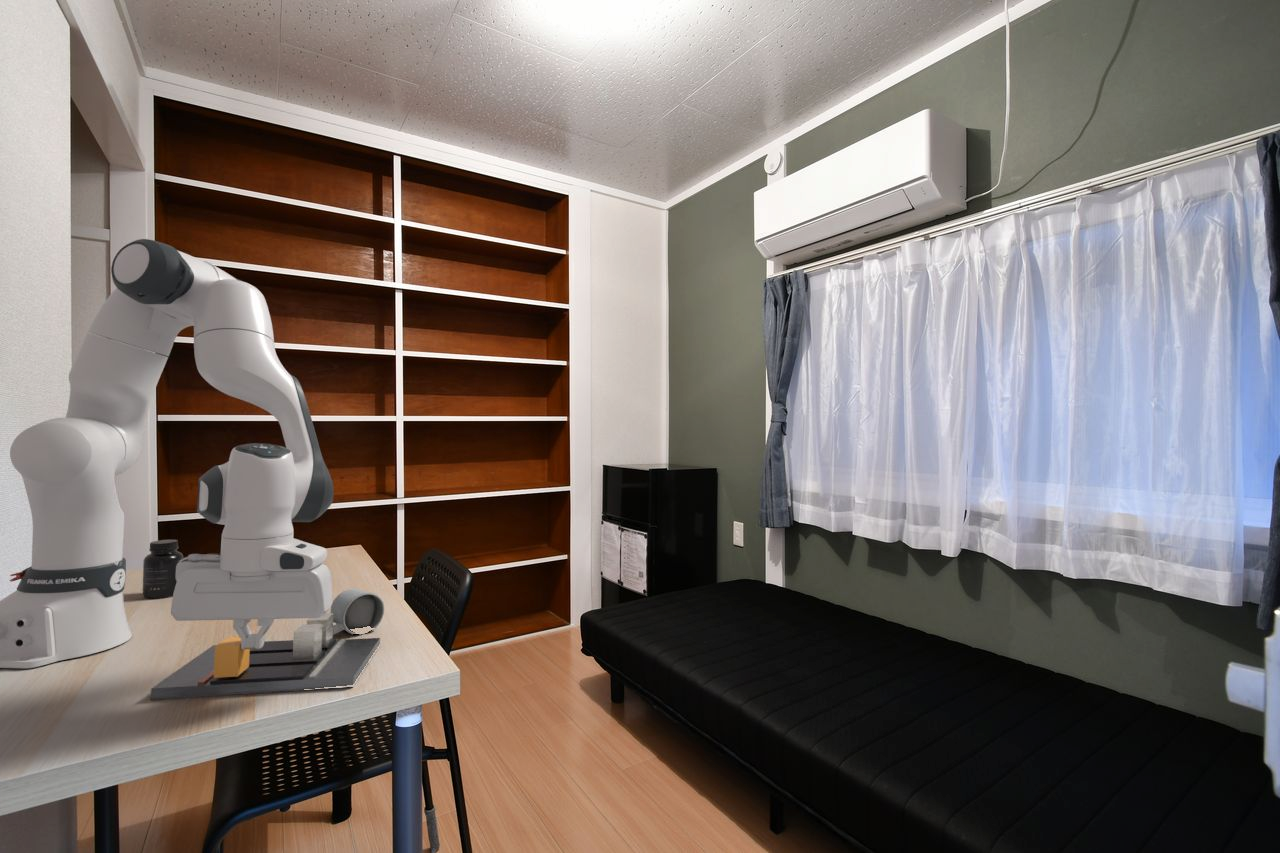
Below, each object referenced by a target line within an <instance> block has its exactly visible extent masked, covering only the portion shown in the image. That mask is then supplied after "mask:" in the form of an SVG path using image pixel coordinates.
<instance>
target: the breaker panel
mask: <svg viewBox="0 0 1280 853" xmlns="http://www.w3.org/2000/svg"><path fill="white" fill-rule="evenodd" d="M333 616H334V613H331V612H330V613H329V612H328V613H327V612H326V613H325V614H324V615H322V616H321V617H319V618H307V620H306V624H301V625H300V626H299V627H298V628H297V629H296V630H295V631H294V632H293V637H292V638H293V639H292V640H291V639H290V640H271V641H269V640H267V641H265V640H264V645H263V647H262V648H260V649H250V654H249V667H248V668H247V669H246V670H244V671H243V672H242V673H241V674H240V675H239V676H237V677H219V678H214V661H215V646H216V645H217V644H215V645H214V644H213V645H211V646H210V647H209V648H207V649H206V650H204V651H203V652H201V653H200V654H199V655H197V656H196V657H194V658H193V659H191V660H190V661H189V662H187V663H186V664H184V665H182V666H181V667H180V668H179V669H177V670H176V671H174V672H173V673H171V674H170V675H169V676H167V677H165V678H164V679H162V680H161V681H160V682H159V683H157V684H155V685H154V686H153V687H151V689H150V700H151V701H154V700H155V701H157V700H170V699H171V700H174V699H176V700H177V699H188V698H189V699H191V698H207V697H220V696H221V697H223V696H239V695H255V694H272V692H274V693H281V692H280V691H290V692H295V691H294V690H304V689H315V688H324V687H336V686H347V685H353V684H354V683H355V681H356V679H357V678H358V676H359V675H360V673H361V672H362V670H363V669H364V667H365V666H366V664H367V663H368V661H369V659H370V658H371V656H372V655H373V653H374V652H375V650H376V649H377V647H378V646H379V644H380V645H381V637H372V638H371V637H370V638H352V639H351V638H349V639H348V638H340V639H337V638H336V637H335V638H334V635H333V626H334V623H333Z"/></svg>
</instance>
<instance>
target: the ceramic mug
mask: <svg viewBox="0 0 1280 853" xmlns="http://www.w3.org/2000/svg"><path fill="white" fill-rule="evenodd" d="M330 613H334V616H333V636H335V635H337V634H339V633H341V632H342V631H346V633H348V634H351V635H353V634H356V633H355V632H353V631H351V630H350V629H355V628H363V627H367V626H370V627H371V628H375V629H376V628H377V627H379V625H380V624H381V622H382V620H383V618H384V615H385V604H384V602H383V600H382V598H381V597H380V596H379V595H378V594H376V593H373V592H371V591H368V590H367V591H366V590H363V589H360V588H350V589H347V590H344V591H342V592H341V593H339V594H338V595H337V596H336V597H335V598H334V600H332V605H331V607H330ZM334 623H335V624H334Z"/></svg>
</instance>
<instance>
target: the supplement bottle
mask: <svg viewBox="0 0 1280 853" xmlns="http://www.w3.org/2000/svg"><path fill="white" fill-rule="evenodd" d="M178 549H179V540H178V539H161V540H159V539H158V540H155V541H151V542H150V543H149V552H150V553H149V554H147V555H146V556H145V557H144V558H143V564H142V568H143V569H142V597H143V598H144V599H147V600H148V599H149V600H159V599H166V598H171V597H172V598H173V594H174V590H175V586H176V583H177V581H176V577H175V576H176V566H177V564H178V562H179V561H180V560H182V559H183V558H184V555H183V553H182V552H180V551H178Z"/></svg>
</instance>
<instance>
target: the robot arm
mask: <svg viewBox="0 0 1280 853" xmlns="http://www.w3.org/2000/svg"><path fill="white" fill-rule="evenodd" d="M110 272H111V279H112V282H113V284H114V286H115V289H114V290H113V291H112V293H110V295H109V296H108V297H107V298H106V300H105V301H104V302H103V304H102V305H101V307H100V308H99V310H98V312H97V314H96V315H95V317H94V319H93V320H92V323H91V324H90V326H89V328H88V330H87V332H86V335H85V337H84V339H83V342H82V343H81V346H80V348H79V351H78V353H77V355H76V357H75V359H74V362H73V364H72V367H71V369H70V371H69V373H68V382H69V386H70V391H69V397H68V398H69V400H68V406H67V411H66V414H65V417H57V418H51V419H48V420H44V421H42V422H39V423H36V424H35V425H32V426H29V427H27V428H26V429H24V430H22V431H21V432H19V434H17V436H16V437H15V438H14V439H13V441H12V443H11V445H10V449H9V457H10V461H11V464H12V466H13V467H14V469H15V470H16V471H17V472H18V473H19V474H20V475H21V477H22V481H23V484H24V488H25V492H26V495H27V496H26V497H27V499H28V504H29V509H30V512H31V520H32V541H31V542H32V544H31V566H29V567H26V568H25V569H23V570H22V571H19V572H16V573H12V574H10V575H9V576H10V577H13V578H11V579H9V582H15V581H18V580H20V581H19V584H18V585H17V587H16V590H15V591H13V592H12V593H11V594H9V595H7V596H5V597H4V598H3V599H1V600H0V668H1V669H32V668H37V667H41V666H45V665H49V664H52V663H55V662H56V663H57V662H59V661H64V660H68V659H70V660H71V659H74V658H79V657H85V656H89V655H92V654H96V653H99V652H103V651H106V650H109V649H112V648H114V647H118V646H121V645H122V644H123V643H126V642H127V641H129V640H130V639H131V638H132V637H133V634H132V632H131V629H130V626H129V622H128V618H127V614H126V609H125V601H124V600H125V599H124V590H125V586H126V577H127V576H126V574H127V572H126V571H127V562H126V561H127V560H126V558H125V557H124V538H125V519H126V518H125V513H124V511H123V509H122V508H121V506H120V501H119V497H118V493H117V487H116V483H115V482H116V481H115V477H116V476H118V475H121V474H122V473H125V472H126V471H127V470H129V469H130V468H131V467H133V465H134V464H136V462H137V461H138V460H139V458H140V457H141V455H142V451H143V443H142V442H143V439H144V434H145V430H146V425H147V423H148V422H147V420H148V415H149V411H150V407H151V406H150V405H151V401H152V399H153V395H154V393H155V390H156V388H157V386H158V383H159V381H160V378H161V375H162V373H163V371H164V368H165V366H166V365H167V361H168V359H169V357H170V354H171V351H172V349H173V346H174V343H175V341H176V339H177V337H178V334H179V333H180V332H181V331H182V330H184V329H186V328H188V327H192V326H193V349H194V350H193V352H194V359H195V365H196V369H197V371H198V374H200V376H201V377H202V378H203V379H204V381H206V382H207V383H208V384H209V385H210V386H212V387H213V388H214V389H216V390H218V391H219V392H221V393H223V394H225V395H227V396H230V397H233V398H235V399H239V400H241V401H244V402H246V403H249V404H252V405H254V406H256V407H259V408H260V409H262V410H264V411H266V412H268V413H270V415H272V416H273V417H274V418H275V419H276V421H277V422H278V424H279V426H280V429H281V433H282V437H283V440H284V443H285V444H284V445H285V446H282V445H278V444H271V443H259V442H258V443H257V442H254V443H245V444H240V445H236V446H235V447H233V448H232V450H231V452H230V454H229V458H228V461H227V462H225V463H222V464H220V465H214V466H212V468H210V469H209V470H207V471H206V472H205V473H204V474H202V475H201V476H200V477H199V478H198V482H197V483H198V487H197V501H196V502H197V503H196V512H197V513H198V514H199V515H201V516H202V517H203V518H204V519H206V520H207V521H208V522H210V523H212V524H218V525H224V527H223V530H222V533H221V540H220V541H221V542H220V553H207V554H200V553H191V554H188V555H187V556H186V557H183V559H182V560H180V561H179V562H178V564H177V566H176V576H175V577H176V581H177V583H176V586H175V590H174V594H173V596H172V599H171V604H170V605H171V606H170V615H171V616H172V618H173V619H174V620H175V621H178V622H181V621H183V622H185V621H186V622H187V621H188V622H189V621H229V620H230V621H231V620H232V628H233V629H234V631H235V632H236V634H237V635H238V637H240V638H241V649H244V650H245V649H260V648H262V647H263V645H264V641H265V636H266V634H267V632H268V631H269V629H270V628H271V627H272V625H273V624H274V623H275V620H277V619H279V620H280V619H287V620H289V619H290V620H291V619H309V618H319V617H321V616H322V615H324V614H325V613H327V612H328V611H329V610H331V606H332V603H333V582H332V574H331V571H330V569H329V567H328V566H327V565H326V564H324V562H325V561H326V560H327V558H328V550H327V548H325V547H323V546H320V545H316V544H313V543H309V542H306V541H303V540H300V539H297V538H294V534H295V533H294V525H293V523H311V522H313V521H315V520H317V519H318V518H320V517H321V516H322V515H323V514H324V513H325V512H326V511H327V510H328V509H329V508H330V507H331V505H332V503H333V501H334V492H335V490H334V484H333V483H334V482H333V480H332V477H331V474H330V471H329V469H328V467H327V465H326V463H325V461H324V458H323V456H322V451H321V448H320V445H319V441H318V437H317V434H316V430H315V426H314V422H313V420H312V416H311V412H310V409H309V405H308V402H307V399H306V395H305V393H304V390H303V388H302V385H301V382H300V381H299V379H298V378H297V377H295V376H294V375H292V374H291V373H290V372H288V371H287V370H286V368H285V367H284V366H283V364H282V362H281V361H280V359H279V357H278V355H277V352H276V347H275V338H274V329H273V323H272V322H273V321H272V318H271V314H270V311H269V306H268V303H267V300H266V298H265V296H264V294H263V293H262V292H261V291H260V290H259V289H258V288H257V287H256V286H254V285H252V284H250V283H248V282H246V281H243V280H242V279H239V278H237V277H235V276H233V275H231V274H229V273H228V272H226V270H222V269H221V268H219V267H217V266H216V265H214V264H212V263H210V262H208V261H205V260H202V259H200V258H197V257H195V256H192V255H190V254H188V253H186V252H183V251H180V250H177V248H175V247H174V246H172V245H169V244H167V243H164V242H160V241H157V240H153V239H148V238H141V239H135V240H133V241H131V242H129V243H127V244H125V245H124V246H122V248H121V249H119V250H118V252H117V253H116V254H115V256H114V258H113V260H112V264H111V267H110ZM14 576H15V577H14ZM252 620H257V627H260V628H259V630H258V631H257V633H253V632H252V631H251V628H250V627H249V625H248V624H249V623H250V622H251V621H252Z"/></svg>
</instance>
